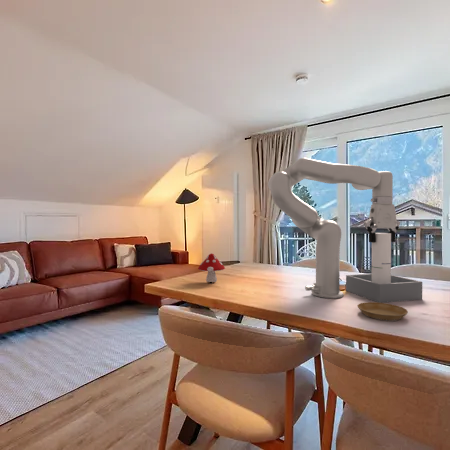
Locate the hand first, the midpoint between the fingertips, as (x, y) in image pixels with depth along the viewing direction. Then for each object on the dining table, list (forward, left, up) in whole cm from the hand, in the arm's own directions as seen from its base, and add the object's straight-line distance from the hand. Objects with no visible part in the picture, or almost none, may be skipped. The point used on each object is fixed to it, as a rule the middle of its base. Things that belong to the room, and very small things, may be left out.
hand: (382, 242), depth 123 cm
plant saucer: (-20, -22, -23) cm, 37 cm away
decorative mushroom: (-65, +42, -22) cm, 81 cm away
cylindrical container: (0, 0, -22) cm, 22 cm away
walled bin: (0, 0, -22) cm, 22 cm away
